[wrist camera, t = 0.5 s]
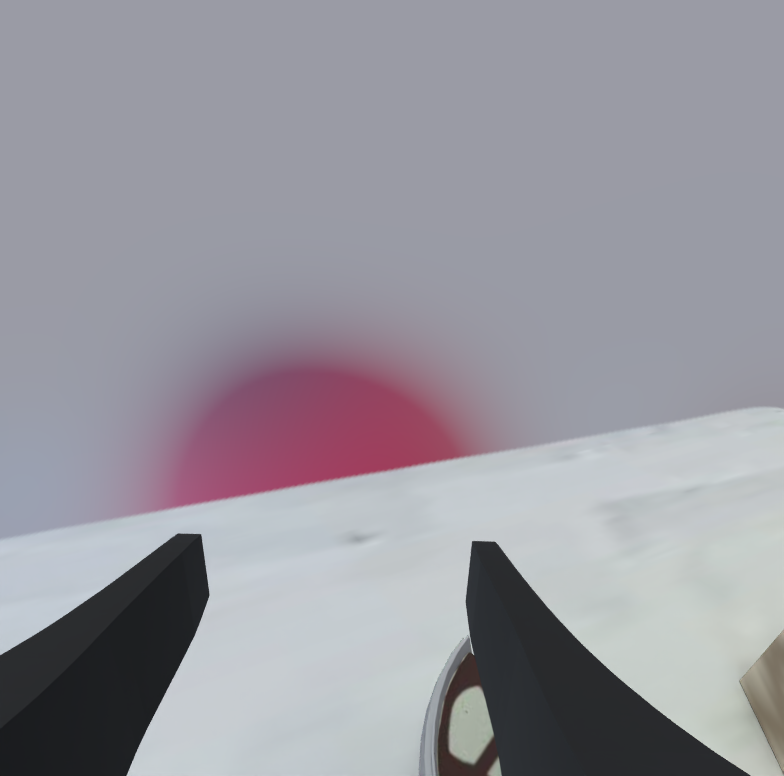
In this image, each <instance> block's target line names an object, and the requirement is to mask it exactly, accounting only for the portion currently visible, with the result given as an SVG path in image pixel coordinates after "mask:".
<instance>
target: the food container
mask: <svg viewBox="0 0 784 776" xmlns="http://www.w3.org/2000/svg"><path fill="white" fill-rule="evenodd" d="M419 776H502V775H501V768H500V762H499V757H498V752H497V747H496V742H495V738H494V733H493V729H492V725H491V721H490V717H489V713H488V709H487V705H486V701H485V697H484V693H483V689H482V685H481V681H480V677H479V672H478V668H477V664H476V660H475V656H474V655H473V654H472V651H471V645H470V638H469V636H468V635H467V637H466V638H465V639H464V638H463V639H462V640H461V641H460V643H459V644H458V645H457V646H456V648H455V649H454V650H453V652H452V653H451V655H450V657H449V659H448V660H447V662H446V664H445V666H444V668H443V670H442V672H441V674H440V676H439V678H438V680H437V682H436V685H435V687H434V690H433V693H432V696H431V699H430V702H429V705H428V708H427V711H426V716H425V721H424V726H423V731H422V736H421V747H420V762H419Z"/></svg>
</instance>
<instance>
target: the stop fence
mask: <svg viewBox="0 0 784 776" xmlns="http://www.w3.org/2000/svg"><path fill="white" fill-rule="evenodd" d="M740 683H741V685H742V687H743V689H744V692H745V694H746V696H747V698H748V700H749V702H750V704H751V706H752V708H753V710H754V712H755V715H756V717H757V719H758V721H759V723H760V725H761V727H762V729H763V731H764V733H765V735H766V738H767V740H768V742H769V744H770V746H771V748H772V750H773V752H774V754H775V756H776V759H777V761H778V763H779V765H780V767H781V769H782V771H783V773H784V630H783V631H782V632H781V633H780V634H779V636H778V637H777V638H776V639H775V640H774V641H773V643H772V644H771V645H770V646H769V647H768V648H767V650H766V651H765V652H764V653H763V654H762V655H761V656H760V658H759V659H758V660H757V661H756V662H755V663H754V665H753V666H752V667H751V668H750V669H749V670H748V672H747V673H746V674H745V675H744V676H743V677H742V679H741V680H740Z"/></svg>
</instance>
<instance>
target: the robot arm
mask: <svg viewBox="0 0 784 776" xmlns="http://www.w3.org/2000/svg"><path fill="white" fill-rule="evenodd" d="M208 598H209V588H208V580H207V573H206V566H205V559H204V552H203V544H202V537H201V534H177V535H175V536H174V537H173V538H171V539H170V540H168V541H167V542H166V543H164V544H163V545H162V546H160V547H159V548H158V549H156V550H155V551H154V552H152V553H151V554H150V555H148V556H147V557H146V558H144V559H143V560H142V561H140V562H139V563H138V564H136V565H135V566H134V567H132V568H131V569H130V570H128V571H127V572H126V573H124V574H123V575H122V576H120V577H119V578H118V579H116V580H115V581H114V582H112V583H111V584H110V585H108V586H107V587H105V588H104V589H103V590H101V591H100V592H98V593H97V594H95V595H94V596H92V597H91V598H90V599H88V600H87V601H85V602H84V603H82V604H81V605H79V606H78V607H77V608H75V609H74V610H72V611H71V612H69V613H68V614H66V615H65V616H63V617H62V618H60V619H59V620H57V621H56V622H54V623H53V624H51V625H50V626H48V627H47V628H45V629H43V630H42V631H40V632H39V633H37V634H35V635H34V636H32V637H30V638H29V639H27V640H25V641H24V642H22V643H20V644H19V645H17V646H15V647H14V648H12V649H10V650H9V651H7V652H5V653H3V654H2V655H0V776H127V773H128V771H129V768H130V766H131V763H132V761H133V759H134V756H135V754H136V751H137V749H138V747H139V745H140V743H141V741H142V739H143V736H144V734H145V732H146V730H147V728H148V726H149V724H150V722H151V720H152V718H153V716H154V714H155V712H156V710H157V708H158V706H159V705H160V703H161V701H162V699H163V697H164V695H165V693H166V691H167V689H168V687H169V685H170V683H171V681H172V679H173V677H174V675H175V673H176V671H177V670H178V668H179V666H180V664H181V662H182V660H183V658H184V656H185V654H186V652H187V650H188V648H189V646H190V644H191V642H192V640H193V638H194V636H195V633H196V631H197V628H198V626H199V623H200V620H201V618H202V615H203V612H204V609H205V607H206V604H207V601H208ZM466 608H467V616H468V624H469V631H470V638H471V643H472V648H473V652H474V656H475V660H476V664H477V668H478V672H479V677H480V681H481V685H482V689H483V693H484V697H485V701H486V705H487V709H488V713H489V717H490V721H491V725H492V729H493V733H494V738H495V742H496V747H497V752H498V757H499V762H500V768H501V775H502V776H750V775H749V774H747V773H746V772H744V771H743V770H741V769H740V768H738V767H737V766H735V765H734V764H732V763H730V762H729V761H727V760H726V759H724V758H723V757H721V756H720V755H718V754H717V753H715V752H714V751H712V750H711V749H710V748H708V747H707V746H705V745H704V744H703V743H701V742H700V741H698V740H697V739H696V738H694V737H693V736H692V735H690V734H689V733H687V732H686V731H685V730H683V729H682V728H680V727H679V726H678V725H676V724H675V723H674V722H672V721H671V720H670V719H668V718H667V717H666V716H665V715H663V714H662V713H661V712H659V711H658V710H657V709H655V708H654V707H653V706H652V705H650V704H649V703H648V702H647V701H646V700H644V699H643V698H642V697H641V696H639V695H638V694H637V693H636V692H635V691H633V690H632V689H631V688H630V687H628V686H627V685H626V684H625V683H624V682H623V681H621V680H620V679H619V678H618V677H617V676H616V675H614V674H613V673H612V672H611V671H610V670H609V669H608V668H607V667H606V666H604V665H603V664H602V663H601V662H600V661H599V660H598V659H597V658H596V657H595V656H594V655H593V654H592V653H591V652H589V651H588V650H587V649H586V648H585V647H584V646H583V645H582V644H581V643H580V642H579V641H578V640H577V639H576V638H575V637H574V636H573V635H572V633H571V632H570V631H569V630H568V629H567V628H566V627H565V626H564V625H563V624H562V623H561V622H560V621H559V620H558V618H557V617H556V616H555V615H554V614H553V613H552V612H551V611H550V609H549V608H548V607H547V606H546V605H545V604H544V602H543V601H542V600H541V599H540V598H539V596H538V595H537V594H536V593H535V592H534V591H533V589H532V588H531V587H530V586H529V584H528V583H527V582H526V581H525V580H524V578H523V577H522V576H521V574H520V573H519V572H518V571H517V569H516V568H515V567H514V565H513V564H512V563H511V561H510V560H509V559H508V557H507V556H506V555H505V553H504V552H503V551H502V549H501V548H500V547H499V545H498V544H497V543H496V542H484V541H472V548H471V558H470V567H469V576H468V585H467V594H466Z"/></svg>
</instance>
